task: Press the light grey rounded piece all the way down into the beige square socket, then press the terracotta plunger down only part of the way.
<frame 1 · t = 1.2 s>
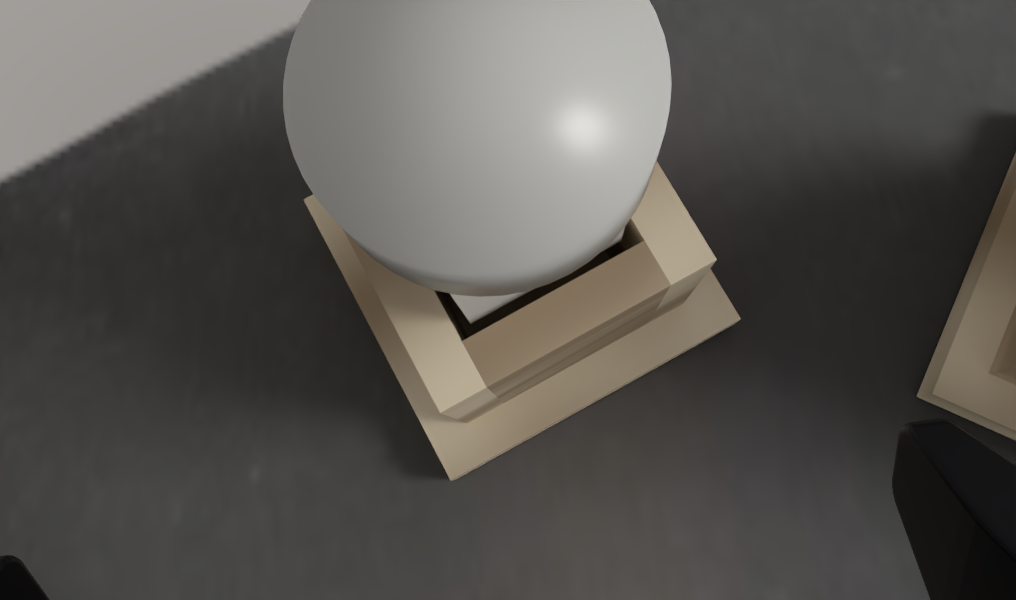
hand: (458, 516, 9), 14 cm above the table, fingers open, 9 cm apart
beige square socket: (518, 266, 24), on the table
light grey rounded piece: (492, 159, 15), point 9 cm above the table, slide at 0.0 cm
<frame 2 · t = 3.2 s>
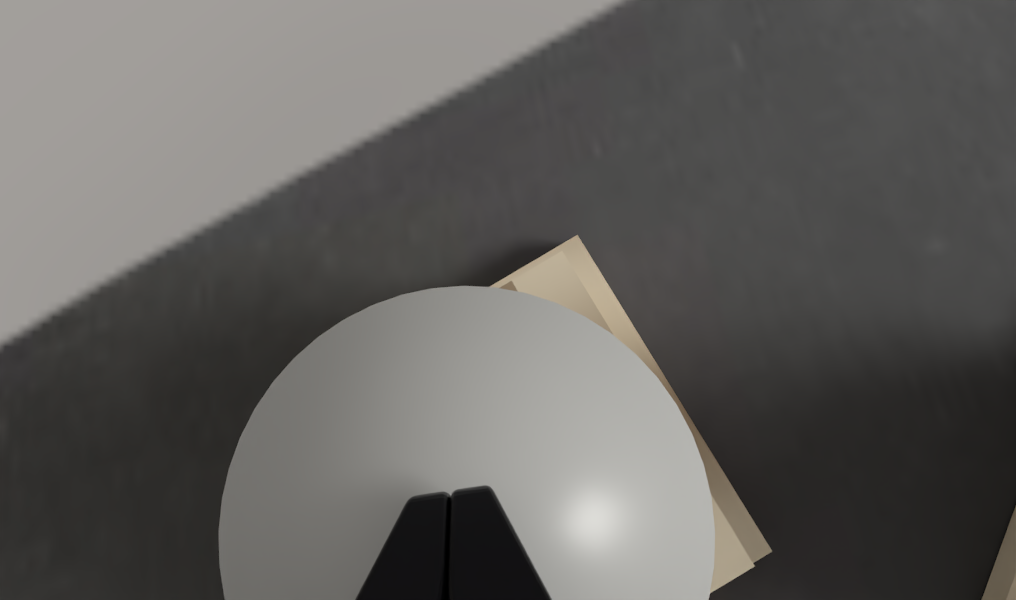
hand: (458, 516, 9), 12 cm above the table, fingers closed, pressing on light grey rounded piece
beige square socket: (516, 479, 21), on the table
light grey rounded piece: (487, 508, 13), point 8 cm above the table, slide at 0.2 cm, touching gripper
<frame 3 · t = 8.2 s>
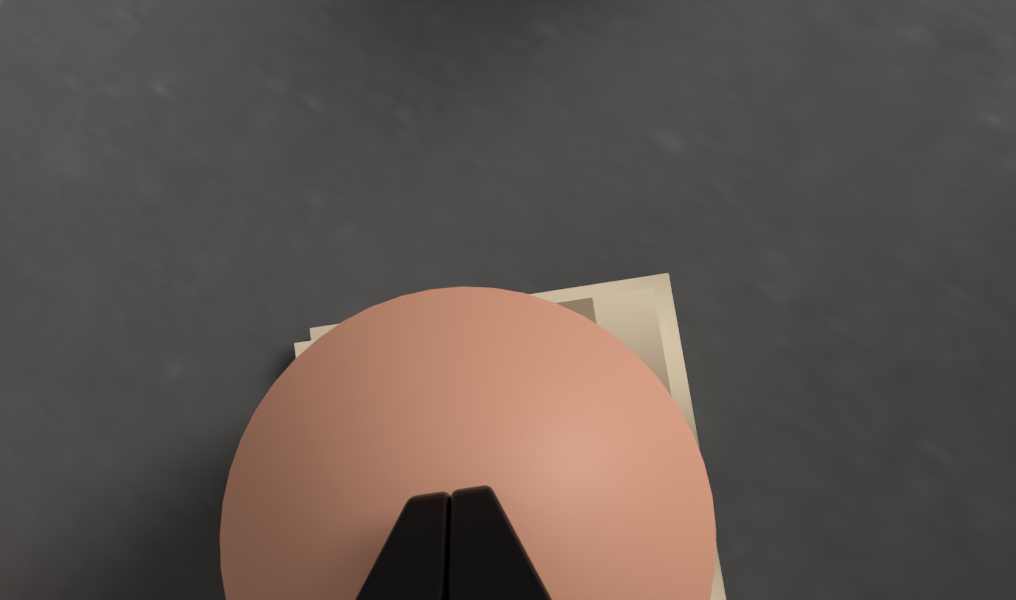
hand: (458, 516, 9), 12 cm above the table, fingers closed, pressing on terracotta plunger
terracotta plunger: (488, 509, 13), point 8 cm above the table, slide at 0.6 cm, touching gripper
cream square holder: (516, 481, 21), on the table
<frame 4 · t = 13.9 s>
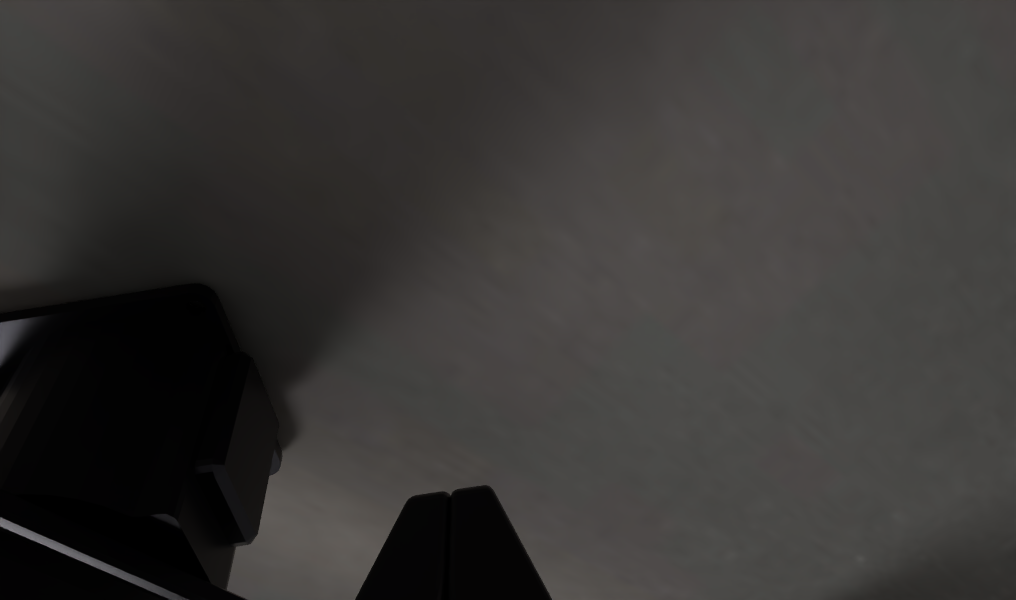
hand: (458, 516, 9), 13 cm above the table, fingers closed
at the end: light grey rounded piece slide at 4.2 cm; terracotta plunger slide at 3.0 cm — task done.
